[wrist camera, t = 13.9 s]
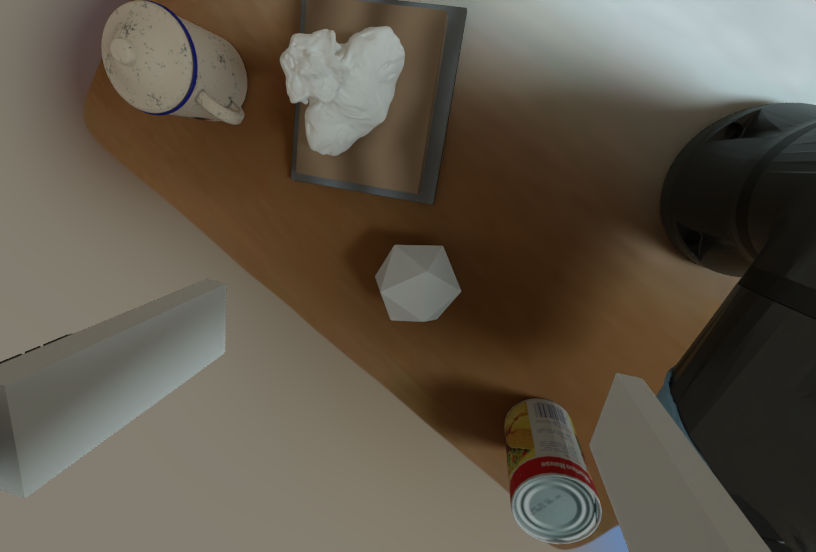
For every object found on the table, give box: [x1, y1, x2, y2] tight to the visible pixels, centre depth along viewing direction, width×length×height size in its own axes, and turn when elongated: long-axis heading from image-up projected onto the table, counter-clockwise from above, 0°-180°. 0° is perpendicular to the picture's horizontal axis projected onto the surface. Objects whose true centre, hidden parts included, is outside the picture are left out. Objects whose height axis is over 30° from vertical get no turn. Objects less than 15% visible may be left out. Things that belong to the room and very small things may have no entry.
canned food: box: [504, 398, 602, 544], centre depth 41 cm, size 8×8×12 cm
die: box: [375, 245, 461, 322], centre depth 40 cm, size 8×9×10 cm
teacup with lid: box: [101, 0, 247, 125], centre depth 37 cm, size 12×9×12 cm
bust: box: [280, 26, 405, 156], centre depth 33 cm, size 12×8×11 cm
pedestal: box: [291, 0, 467, 205], centre depth 39 cm, size 16×18×3 cm
